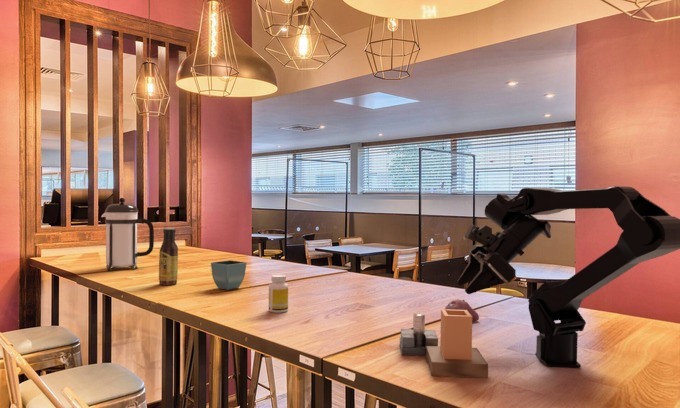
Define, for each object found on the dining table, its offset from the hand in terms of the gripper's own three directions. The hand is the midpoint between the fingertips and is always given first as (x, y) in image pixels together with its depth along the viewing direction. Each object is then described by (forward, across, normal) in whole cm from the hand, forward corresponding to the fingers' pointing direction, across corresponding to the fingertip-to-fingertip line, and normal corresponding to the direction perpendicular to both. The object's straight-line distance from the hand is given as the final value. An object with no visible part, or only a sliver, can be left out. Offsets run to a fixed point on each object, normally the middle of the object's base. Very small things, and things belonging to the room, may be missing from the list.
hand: (462, 288), depth 102 cm
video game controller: (+7, -19, +12) cm, 23 cm away
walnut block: (+11, +14, +6) cm, 19 cm away
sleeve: (+10, +14, +5) cm, 17 cm away
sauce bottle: (+74, -57, -56) cm, 109 cm away
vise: (+16, +4, +2) cm, 16 cm away
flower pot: (+58, -53, -40) cm, 88 cm away
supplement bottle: (+41, -25, -23) cm, 54 cm away
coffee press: (+97, -88, -79) cm, 153 cm away
